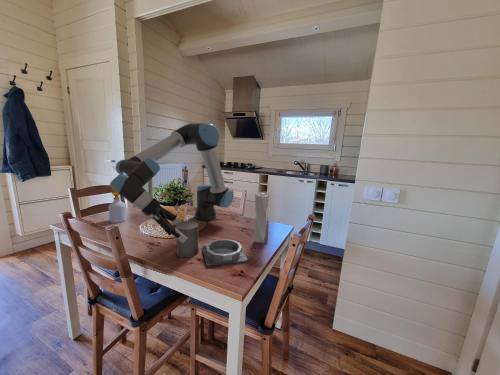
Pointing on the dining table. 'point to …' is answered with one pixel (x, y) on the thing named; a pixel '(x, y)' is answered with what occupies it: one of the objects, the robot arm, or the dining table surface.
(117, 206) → the soap bottle
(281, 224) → the dining table surface
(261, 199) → the skyscraper
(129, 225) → the dining table surface
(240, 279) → the dining table surface
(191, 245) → the pillar candle
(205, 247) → the duct collar
